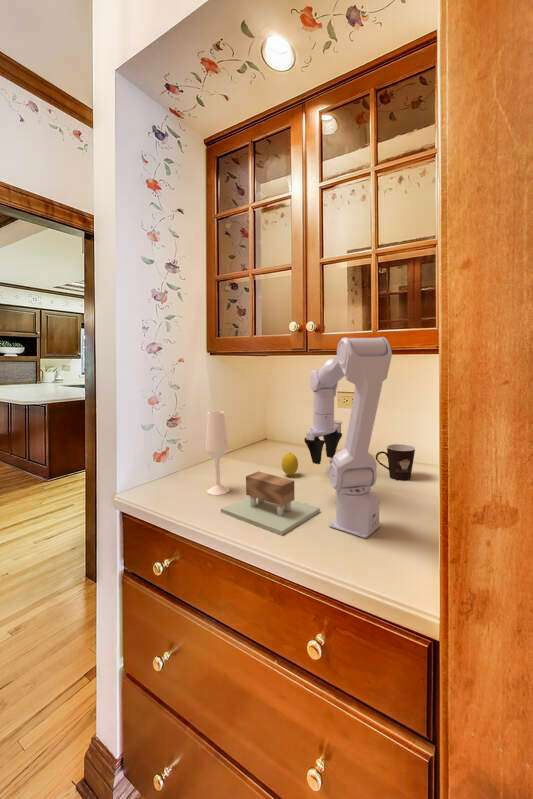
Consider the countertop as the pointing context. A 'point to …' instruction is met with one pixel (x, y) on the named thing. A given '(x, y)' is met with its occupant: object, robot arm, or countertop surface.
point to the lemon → (289, 464)
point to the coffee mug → (399, 461)
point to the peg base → (271, 513)
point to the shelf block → (270, 488)
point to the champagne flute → (216, 445)
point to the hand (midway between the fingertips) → (323, 460)
